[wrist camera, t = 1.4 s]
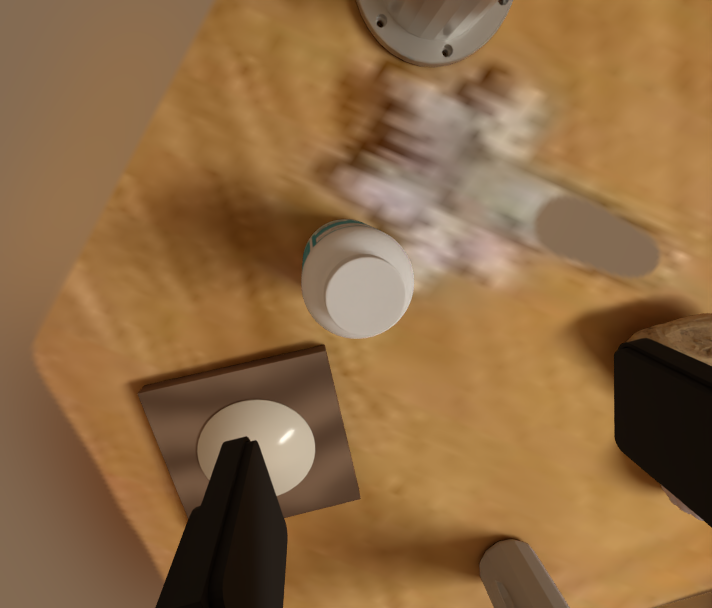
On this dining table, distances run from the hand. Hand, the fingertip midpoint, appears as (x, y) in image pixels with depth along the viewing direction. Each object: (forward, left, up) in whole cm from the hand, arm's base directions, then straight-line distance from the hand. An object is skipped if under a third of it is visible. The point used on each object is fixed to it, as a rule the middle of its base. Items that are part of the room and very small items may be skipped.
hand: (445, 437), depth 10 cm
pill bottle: (0, 0, -26) cm, 26 cm away
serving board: (+16, -12, -26) cm, 33 cm away
